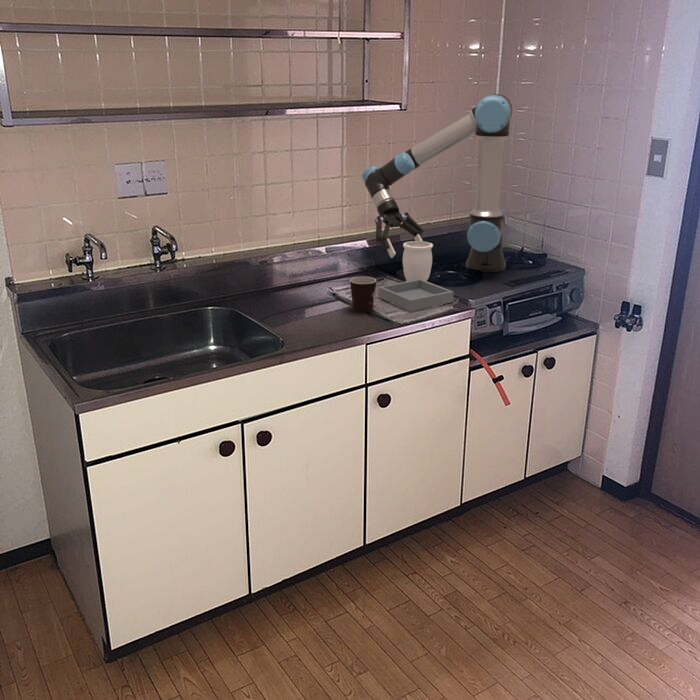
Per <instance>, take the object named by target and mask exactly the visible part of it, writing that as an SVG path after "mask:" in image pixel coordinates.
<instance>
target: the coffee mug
mask: <svg viewBox="0 0 700 700" xmlns="http://www.w3.org/2000/svg"><path fill="white" fill-rule="evenodd" d="M349 284H350V294H351V303H352V310H353V311H354V312H355V313H360V314H361V313H362V314H364V313H365V314H366V313H371V312H373V309H374V302H375V295H376V287H377V279H376V278H375V277H372V276H356V277H352V278H350V279H349Z"/></svg>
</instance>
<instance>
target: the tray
mask: <svg viewBox="0 0 700 700" xmlns="http://www.w3.org/2000/svg"><path fill="white" fill-rule="evenodd" d="M378 297H379V298H382V299H384V300H386V301H388V302H390V303H393V304H395V305H397V306H399V307H401V308H400V309H402V308H403V309H402V310H404V309H405V311H406V310H407V312H408V311H409V313H413V312H412V311H414V312H418V311H422V310H421V309H423V310H426V309H425V308H428V309H430V308H429V307H432V308H434V307H433V306H437V307H439V306H438V305H441V304H445V303H449V302H453V303H454V291H452V290H451V289H447V288H445V287H442V286H440V285H437V284H434V283H432V282H429V281H428V280H427V281H424V280H422V279H418V280H413V281H407V282H405V281H403V282H398V283H392V284H387V285H381V286H378ZM379 298H378V299H379ZM384 300H383V301H384ZM386 301H385V302H386ZM388 302H387V303H388ZM390 303H389V304H390ZM393 304H392V305H393ZM395 305H394V306H395ZM397 306H396V307H397ZM399 307H398V308H399ZM417 310H418V311H417Z"/></svg>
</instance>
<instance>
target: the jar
mask: <svg viewBox="0 0 700 700" xmlns="http://www.w3.org/2000/svg"><path fill="white" fill-rule="evenodd" d="M402 247H403V248H404V250H403V254H402V267H403V269H402V270H403V275H404V277H405V278H404V279H405V281H404V282H407V281H413V280H418V279H422V280H424V281H427V282H428V280H429V277H430V275H431V269H432V265H433V252H432V249H433V247H434V244H433V243H432V242H428V241H424V242H423V241H415V240H414V241H413V240H411V241H405V242H404V243H403V245H402Z"/></svg>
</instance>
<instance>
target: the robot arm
mask: <svg viewBox="0 0 700 700" xmlns="http://www.w3.org/2000/svg"><path fill="white" fill-rule="evenodd" d="M512 105H513V104H512V102H511V101H510V100H509V99H508V97H506V96H505V95H503V94H501V93H500V94H499V93H495V94H490V95H487V96H485V97H483V98H482V99H481V100H480V101H479V102H478V104H477V105H476V106H474V107H473V108H472V109H470V112H469V114H467V115H465V116H463V117H462V118H460V119H458V120H457V121H456V122H453V123H452V124H450V125H448V126H447V127H445V128H443V129H441V130H440V131H438V132H436V133H435V134H432V135H431V136H430V137H428V138H426V139H424V140H423V141H421V142H419V143H418V144H416V145H414V146H412V147H411V148H409V149H407V150H406V151H403V152H401V153H400V154H397V155H396V156H394V158H392V159H391V160H390V161H388V162H386V163H385V164H384V165H382V166H381V167H380V166H377V165H372V166H370V167H367V168H366V169H365V170H363V172H362V176H361V177H362V179H363V182H364V185H365V188H366V190H367V191H368V194H369V195H370V198H371V200H372V203H373V204H374V207H375V209H376V210H377V211H376V212H377V213H378V215H377V216H376V218H375V219H374V222H375V242H379V244H380V245H381V244H382V245H383V247H384V249H385V250H387V253H388V255H389V256H390V259H393V258H394V257H395V256H396V254H397V253H396V250H395V249H394V247H393V245H392V242H391V240H390V238H388V234H389V232H390V228H391V229H392V228H398V227H399V228H400V229H403V230H405V231H406V232H408V233H409V234H411V235H412V236H414V238H413V239H414V241H423V242H425V240H424V238H423V236H422V235H423V233H424V232H425V230H424V228H422V227H421V226H420V225H419V224H418V223H417V222H416V221H415V220H414V218H412V217H411V216H410V214H409V212H407V211H406V212H404V213H403V214H402V213H401V212H400V208H399V205H398V203H397V201H396V200H395V197H394V195H393V193H392V191H391V189H390V187H391V186H393V185H394V184H396V182H398V181H400V180H401V179H402V178H404V177H406V175H409V174H410V173H412V171H414V170H416V169H418V168H420V167H421V166H423V165H425V164H426V163H428V162H430V161H431V160H433V159H435V158H436V157H439V156H440V155H442V154H444V153H446V152H447V151H449V150H451V149H453V148H454V147H456V146H458V145H460V144H461V143H463V142H465V141H468V140H469V139H470V138H472V137H473V136H475V137H476V139H478V152H477V153H478V155H477V171H476V181H475V182H476V183H475V200H474V209H472V210H471V211H470V213H469V226H468V227H469V228H468V229H467V233H466V237H467V241H468V243H469V246H470V247H471V248H470V251H469V255H468V258H466V263H465V267H466V269H468V268H470V269H475V270H481V271H482V272H481V273H498V272H502V271H504V270H505V269H506V260H505V256H504V251H503V244H504V243H503V242H504V241H503V240H504V231H505V230H504V228H505V227H504V226H505V218H506V216H505V210H503V209H502V208H501V209H500V195H501V184H502V171H503V157H504V156H503V155H504V145H505V141H506V139H507V138H509V136H510V125H511V117H512V115H513V106H512ZM383 223H384V224H385V225H384V229H383ZM470 269H469V270H470Z"/></svg>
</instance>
